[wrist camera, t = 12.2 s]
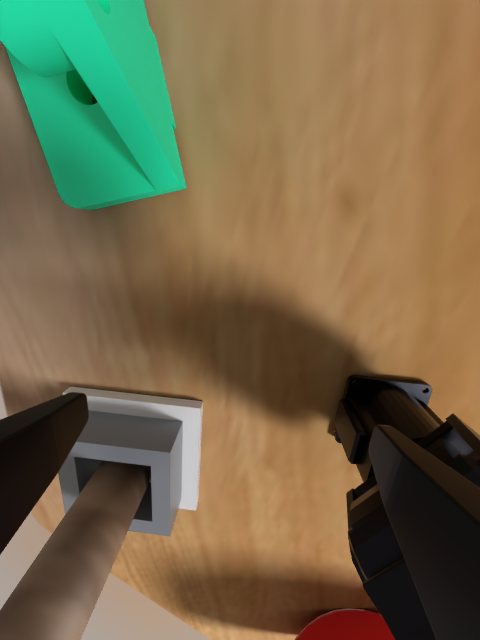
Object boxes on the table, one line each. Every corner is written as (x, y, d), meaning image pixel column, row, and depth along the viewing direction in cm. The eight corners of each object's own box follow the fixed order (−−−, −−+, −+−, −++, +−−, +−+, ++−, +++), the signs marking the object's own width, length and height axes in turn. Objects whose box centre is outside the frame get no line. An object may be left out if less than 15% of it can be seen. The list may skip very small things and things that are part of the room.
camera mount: (16, -1, 16) (-367, -367, 6) (138, -43, 15) (-87, -551, 5) (89, 213, 19) (-80, 197, 10) (190, 190, 19) (115, 148, 9)
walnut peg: (166, 454, 25) (80, 663, 13) (142, 481, 26) (43, 694, 14) (125, 428, 24) (-6, 622, 12) (102, 457, 25) (-37, 659, 13)
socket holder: (203, 401, 24) (191, 438, 19) (198, 500, 27) (187, 550, 23) (70, 386, 24) (29, 420, 20) (83, 486, 28) (52, 532, 24)
